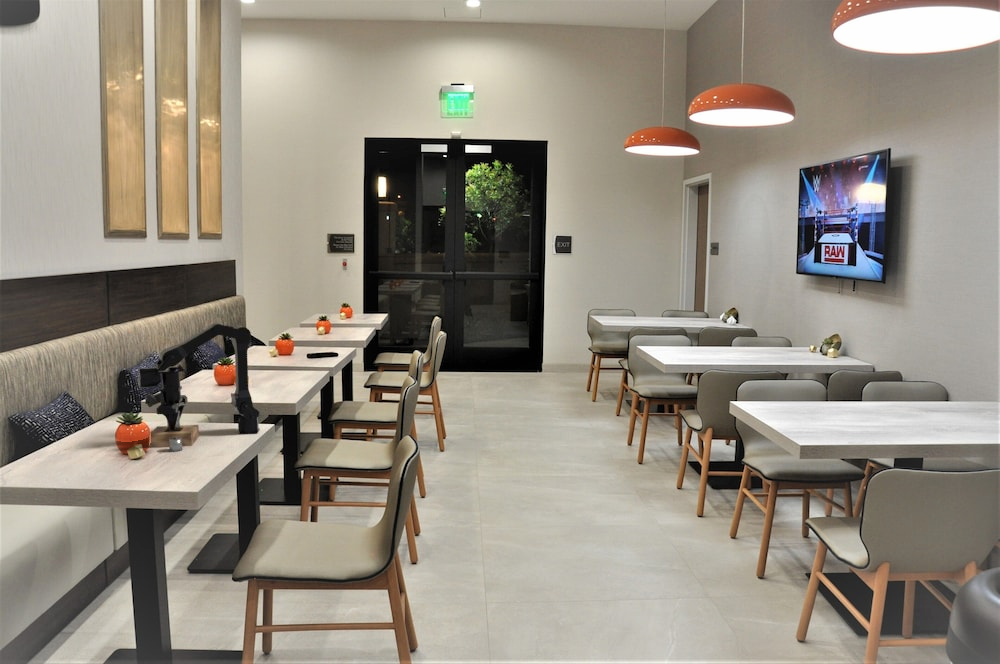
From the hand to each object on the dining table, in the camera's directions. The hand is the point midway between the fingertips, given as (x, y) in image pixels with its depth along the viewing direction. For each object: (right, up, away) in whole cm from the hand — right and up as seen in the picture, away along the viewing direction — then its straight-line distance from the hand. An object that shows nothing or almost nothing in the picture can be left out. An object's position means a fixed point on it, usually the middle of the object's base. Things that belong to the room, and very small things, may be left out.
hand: (173, 428), depth 270 cm
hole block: (0, -5, +1) cm, 5 cm away
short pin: (+5, -6, -10) cm, 12 cm away
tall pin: (0, -2, 0) cm, 2 cm away
